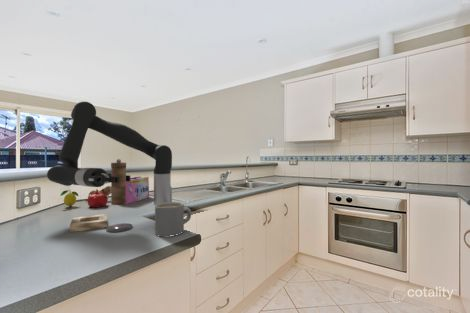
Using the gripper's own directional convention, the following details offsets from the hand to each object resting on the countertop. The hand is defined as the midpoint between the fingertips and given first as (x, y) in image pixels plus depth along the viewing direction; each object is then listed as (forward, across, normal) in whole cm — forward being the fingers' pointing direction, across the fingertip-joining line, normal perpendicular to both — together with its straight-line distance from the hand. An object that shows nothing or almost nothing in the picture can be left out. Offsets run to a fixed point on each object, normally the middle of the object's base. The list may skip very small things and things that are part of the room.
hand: (124, 179), depth 90 cm
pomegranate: (-45, +26, +20) cm, 56 cm away
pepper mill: (-3, 0, +10) cm, 10 cm away
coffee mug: (+20, +4, +19) cm, 28 cm away
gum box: (-39, +46, +20) cm, 63 cm away
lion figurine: (-56, +38, +20) cm, 70 cm away
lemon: (-58, +20, +20) cm, 64 cm away
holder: (-17, -1, +19) cm, 25 cm away
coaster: (-2, 0, +19) cm, 19 cm away
